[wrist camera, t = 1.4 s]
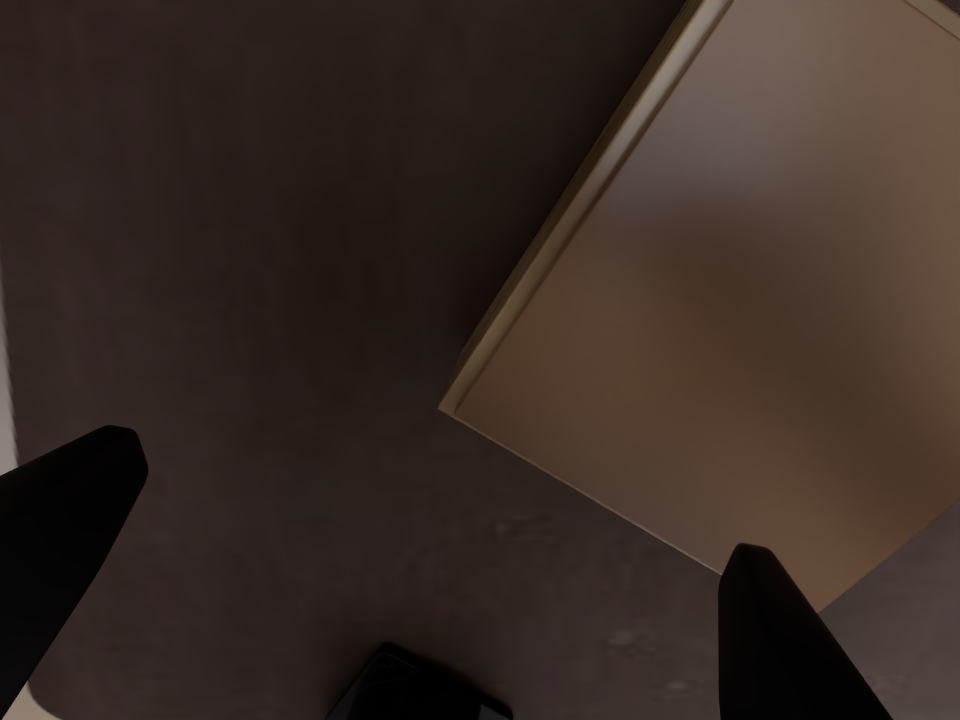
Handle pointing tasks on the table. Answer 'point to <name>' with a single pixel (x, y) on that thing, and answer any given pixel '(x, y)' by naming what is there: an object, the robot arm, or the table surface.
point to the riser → (751, 293)
